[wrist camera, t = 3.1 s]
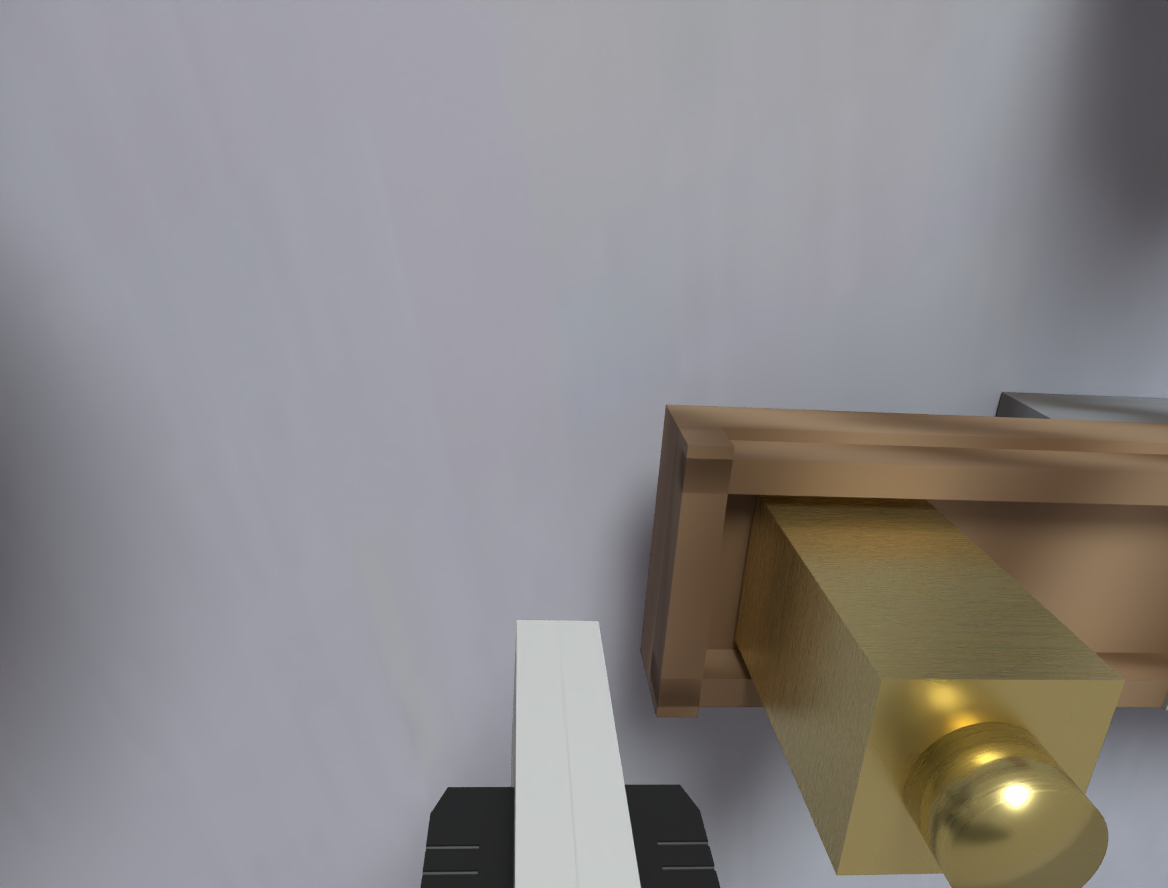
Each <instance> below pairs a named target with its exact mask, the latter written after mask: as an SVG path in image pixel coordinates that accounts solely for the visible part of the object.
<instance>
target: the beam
mask: <svg viewBox="0 0 1168 888" xmlns="http://www.w3.org/2000/svg"><path fill="white" fill-rule="evenodd" d="M756 495H787V496H824V497H862V498H899V499H926V500H927V501H928V502H929V503H931V504H932V505H933V506H934V507H935V508H936V509H937V510H938V511H939V512H940V513H942V514H943V515H944V516H945V517H946V518H947V519H948V520H949V521H950V522H951V523H953V524H954V525H955V526H956V527H957V528H958V529H959V530H960V531H961V532H962V533H964V534H965V535H966V536H967V537H968V538H969V539H970V540H971V541H972V542H974V543H975V544H976V545H977V546H978V547H979V548H980V549H981V550H982V551H983V552H985V553H986V554H987V555H988V556H989V557H990V558H991V559H992V560H993V561H994V562H996V563H997V564H998V565H999V566H1000V567H1001V568H1002V569H1003V570H1004V571H1005V572H1007V573H1008V574H1009V575H1010V576H1011V577H1012V578H1013V579H1014V580H1015V581H1017V582H1018V583H1019V584H1020V585H1021V586H1022V587H1023V588H1024V589H1025V590H1026V591H1028V592H1029V593H1030V594H1031V595H1032V596H1033V597H1034V598H1035V599H1036V600H1037V601H1039V602H1040V603H1041V604H1042V605H1043V606H1044V607H1045V608H1046V609H1047V610H1049V611H1050V612H1051V613H1052V614H1053V615H1054V616H1055V617H1056V618H1057V619H1058V620H1060V621H1061V622H1062V623H1063V624H1064V625H1065V626H1066V627H1067V628H1068V629H1069V630H1071V631H1072V632H1073V633H1074V634H1075V635H1076V636H1077V637H1078V638H1079V639H1080V640H1082V641H1083V642H1084V643H1085V644H1086V645H1087V646H1088V647H1089V648H1090V649H1092V650H1093V651H1094V652H1095V653H1096V654H1097V655H1098V656H1099V657H1100V658H1101V659H1103V660H1104V661H1105V662H1106V663H1107V664H1108V665H1109V666H1110V667H1111V668H1112V669H1114V670H1115V671H1116V672H1117V673H1118V674H1119V675H1120V676H1121V677H1122V678H1123V679H1125V683H1124V686H1123V689H1122V691H1121V694H1120V697H1119V700H1118V703H1117V706H1116V707H1162V708H1164V709H1165V710H1168V399H1161V398H1136V397H1111V396H1086V395H1061V394H1036V393H1011V392H1002V395H1001V399H1000V403H999V407H998V411H997V415H996V417H984V416H957V415H930V414H903V413H876V412H849V411H822V410H795V409H768V408H741V407H714V406H688V405H666V410H665V420H664V429H663V439H662V448H661V458H660V467H659V477H658V487H657V496H656V506H655V515H654V525H653V534H652V544H651V553H650V563H649V573H648V582H647V592H646V601H645V611H644V620H643V630H642V639H641V649H640V651H641V656H642V660H643V664H644V668H645V672H646V676H647V680H648V685H649V689H650V693H651V697H652V701H653V705H654V709H655V713H656V717H697V715H698V708H699V707H764V706H763V703H762V701H761V699H760V696H759V694H758V692H757V689H756V687H755V685H754V682H753V680H752V678H751V675H750V673H749V671H748V669H747V666H746V664H745V662H744V659H743V657H742V655H741V652H740V650H739V648H738V645H737V643H736V641H735V631H736V625H737V618H738V611H739V605H740V598H741V592H742V585H743V578H744V572H745V565H746V558H747V552H748V545H749V539H750V532H751V525H752V519H753V512H754V505H755V499H756Z"/></svg>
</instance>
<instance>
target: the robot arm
mask: <svg viewBox="0 0 1168 888" xmlns="http://www.w3.org/2000/svg"><path fill="white" fill-rule="evenodd" d="M421 888H720V885H719V881H718V877H717V873H716V871H715V870H714V862H713V858H712V854H711V851H710V847H709V846H708V839H707V836H706V832H705V828H704V824H703V820H702V817H701V813H700V810H699V809H698V807H697V806H696V805H695V804H694V802H693V801H692V800H691V798H690V797H689V796H688V795H687V793H686V792H685V791H684V789H683V788H682V787H681V786H680V785H624V779H623V772H622V766H621V760H620V753H619V747H618V741H617V735H616V728H615V722H614V716H613V710H612V703H611V697H610V691H609V685H608V678H607V672H606V666H605V659H604V653H603V647H602V641H601V634H600V628H599V622H598V621H551V620H517V628H516V652H515V676H514V700H513V724H512V762H511V787H448V788H447V789H446V791H445V793H444V794H443V796H442V797H441V799H440V800H439V802H438V803H437V805H436V806H435V808H434V809H433V811H432V812H431V814H430V821H429V828H428V836H427V844H426V851H425V859H424V867H423V877H422V882H421Z"/></svg>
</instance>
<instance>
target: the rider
mask: <svg viewBox="0 0 1168 888" xmlns="http://www.w3.org/2000/svg"><path fill="white" fill-rule="evenodd" d="M735 641H736V643H737V645H738V648H739V650H740V652H741V655H742V657H743V659H744V662H745V664H746V666H747V669H748V671H749V673H750V675H751V678H752V680H753V682H754V685H755V687H756V689H757V692H758V694H759V696H760V699H761V701H762V703H763V706H764V708H765V710H766V713H767V715H768V717H769V720H770V722H771V724H772V727H773V729H774V731H775V733H776V736H777V738H778V740H779V743H780V745H781V747H782V750H783V752H784V754H785V757H786V759H787V761H788V764H789V766H790V768H791V771H792V773H793V775H794V778H795V780H796V782H797V784H798V787H799V789H800V791H801V794H802V796H803V798H804V801H805V803H806V805H807V808H808V810H809V812H810V815H811V817H812V819H813V822H814V824H815V826H816V829H817V831H818V833H819V835H820V838H821V840H822V842H823V845H824V847H825V849H826V852H827V854H828V856H829V859H830V861H831V863H832V866H833V868H834V870H835V873H836V875H883V874H934V873H944V875H945V877H946V879H947V880H948V882H949V884H950V886H951V887H952V888H1081V887H1083V886H1084V885H1085V884H1086V883H1087V882H1088V881H1089V880H1090V879H1091V877H1092V876H1093V875H1094V874H1095V872H1096V871H1097V869H1098V868H1099V866H1100V865H1101V863H1102V861H1103V858H1104V856H1105V853H1106V850H1107V846H1108V829H1107V825H1106V822H1105V820H1104V818H1103V816H1102V815H1101V813H1100V812H1099V811H1098V809H1097V808H1096V807H1095V806H1094V805H1093V804H1092V802H1091V801H1090V800H1089V799H1088V798H1087V797H1086V795H1085V793H1086V790H1087V787H1088V785H1089V782H1090V779H1091V776H1092V773H1093V771H1094V768H1095V765H1096V762H1097V759H1098V756H1099V754H1100V751H1101V748H1102V745H1103V742H1104V739H1105V737H1106V734H1107V731H1108V728H1109V725H1110V723H1111V720H1112V717H1113V714H1114V711H1115V708H1116V706H1117V703H1118V700H1119V697H1120V694H1121V691H1122V689H1123V686H1124V683H1125V679H1123V678H1122V677H1121V676H1120V675H1119V674H1118V673H1117V672H1116V671H1115V670H1114V669H1112V668H1111V667H1110V666H1109V665H1108V664H1107V663H1106V662H1105V661H1104V660H1103V659H1101V658H1100V657H1099V656H1098V655H1097V654H1096V653H1095V652H1094V651H1093V650H1092V649H1090V648H1089V647H1088V646H1087V645H1086V644H1085V643H1084V642H1083V641H1082V640H1080V639H1079V638H1078V637H1077V636H1076V635H1075V634H1074V633H1073V632H1072V631H1071V630H1069V629H1068V628H1067V627H1066V626H1065V625H1064V624H1063V623H1062V622H1061V621H1060V620H1058V619H1057V618H1056V617H1055V616H1054V615H1053V614H1052V613H1051V612H1050V611H1049V610H1047V609H1046V608H1045V607H1044V606H1043V605H1042V604H1041V603H1040V602H1039V601H1037V600H1036V599H1035V598H1034V597H1033V596H1032V595H1031V594H1030V593H1029V592H1028V591H1026V590H1025V589H1024V588H1023V587H1022V586H1021V585H1020V584H1019V583H1018V582H1017V581H1015V580H1014V579H1013V578H1012V577H1011V576H1010V575H1009V574H1008V573H1007V572H1005V571H1004V570H1003V569H1002V568H1001V567H1000V566H999V565H998V564H997V563H996V562H994V561H993V560H992V559H991V558H990V557H989V556H988V555H987V554H986V553H985V552H983V551H982V550H981V549H980V548H979V547H978V546H977V545H976V544H975V543H974V542H972V541H971V540H970V539H969V538H968V537H967V536H966V535H965V534H964V533H962V532H961V531H960V530H959V529H958V528H957V527H956V526H955V525H954V524H953V523H951V522H950V521H949V520H948V519H947V518H946V517H945V516H944V515H943V514H942V513H940V512H939V511H938V510H937V509H936V508H935V507H934V506H933V505H932V504H931V503H929V502H928V501H927V500H926V499H899V498H862V497H824V496H787V495H756V499H755V505H754V512H753V519H752V525H751V532H750V539H749V545H748V552H747V558H746V565H745V572H744V578H743V585H742V592H741V598H740V605H739V611H738V618H737V625H736V631H735Z"/></svg>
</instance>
